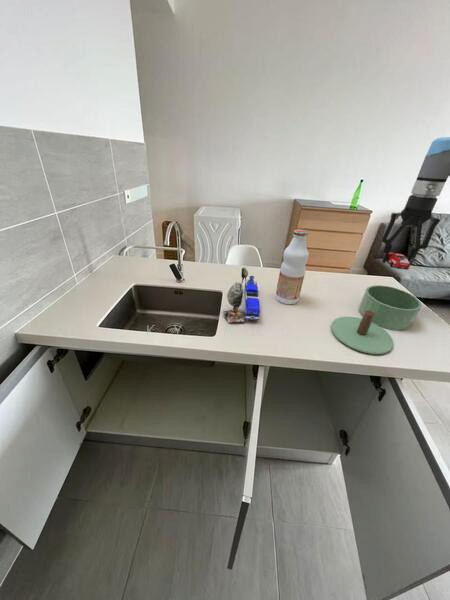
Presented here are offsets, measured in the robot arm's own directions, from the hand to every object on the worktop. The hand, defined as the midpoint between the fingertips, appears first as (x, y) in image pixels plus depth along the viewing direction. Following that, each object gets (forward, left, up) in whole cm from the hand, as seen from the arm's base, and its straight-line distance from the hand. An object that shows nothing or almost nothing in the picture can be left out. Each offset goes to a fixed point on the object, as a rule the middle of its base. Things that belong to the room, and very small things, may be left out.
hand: (394, 263), depth 89 cm
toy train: (+46, +23, -16) cm, 54 cm away
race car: (0, 0, -1) cm, 1 cm away
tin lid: (+5, +24, -18) cm, 31 cm away
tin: (-3, +6, -19) cm, 20 cm away
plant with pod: (+47, +35, -19) cm, 62 cm away
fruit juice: (+33, +13, -19) cm, 41 cm away
